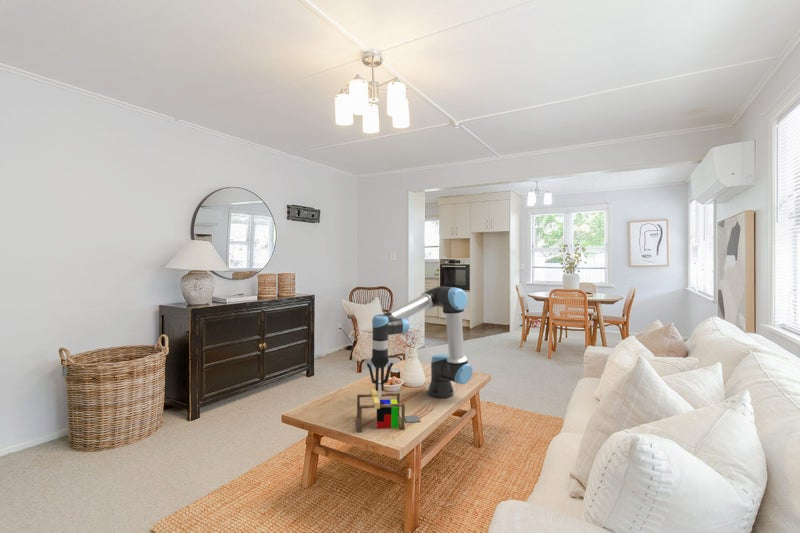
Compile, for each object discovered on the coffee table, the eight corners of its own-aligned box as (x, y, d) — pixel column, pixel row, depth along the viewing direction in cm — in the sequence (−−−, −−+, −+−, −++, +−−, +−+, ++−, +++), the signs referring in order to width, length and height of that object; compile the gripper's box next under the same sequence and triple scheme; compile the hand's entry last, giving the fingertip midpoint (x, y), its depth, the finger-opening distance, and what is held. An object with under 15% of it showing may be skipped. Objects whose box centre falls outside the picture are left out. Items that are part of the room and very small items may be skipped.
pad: (417, 416, 194) (417, 415, 194) (420, 422, 187) (420, 421, 187) (403, 416, 193) (404, 415, 193) (406, 422, 186) (406, 421, 186)
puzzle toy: (376, 419, 190) (376, 399, 189) (396, 419, 190) (396, 399, 190) (376, 428, 180) (377, 407, 179) (398, 428, 180) (398, 407, 180)
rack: (399, 416, 194) (400, 392, 193) (405, 429, 179) (405, 404, 178) (356, 418, 190) (356, 394, 190) (357, 432, 175) (358, 406, 175)
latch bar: (375, 395, 193) (375, 389, 192) (379, 408, 175) (379, 402, 175) (370, 395, 192) (371, 389, 192) (374, 408, 175) (374, 402, 175)
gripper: (392, 346, 188) (391, 393, 189) (365, 346, 186) (365, 394, 187) (394, 349, 181) (393, 399, 181) (367, 350, 179) (366, 400, 179)
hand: (379, 397), depth 184 cm, fingers closed
